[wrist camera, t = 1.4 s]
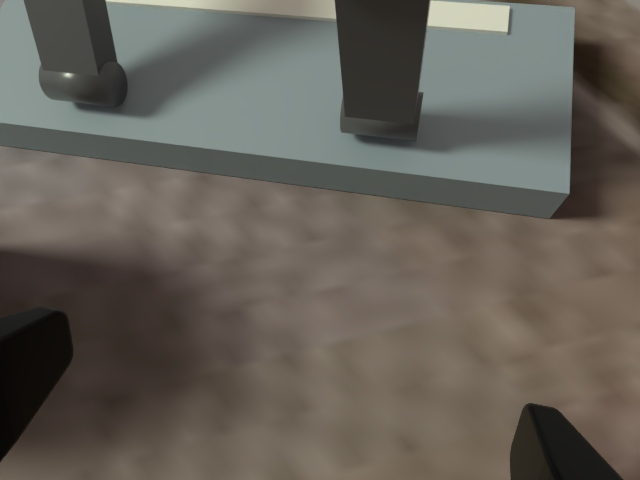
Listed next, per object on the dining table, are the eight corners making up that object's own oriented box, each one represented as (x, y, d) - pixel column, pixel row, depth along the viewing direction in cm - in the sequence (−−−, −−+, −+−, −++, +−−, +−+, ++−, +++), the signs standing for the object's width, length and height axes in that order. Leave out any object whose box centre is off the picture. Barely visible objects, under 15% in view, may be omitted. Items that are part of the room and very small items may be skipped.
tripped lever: (423, 155, 21) (467, -91, 11) (332, 144, 22) (297, -98, 12) (430, 108, 22) (476, -159, 12) (341, 99, 23) (316, -162, 13)
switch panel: (549, 218, 23) (571, 191, 20) (-22, 142, 27) (-61, 112, 25) (556, 45, 26) (576, 4, 23) (47, 5, 31) (19, -33, 28)
